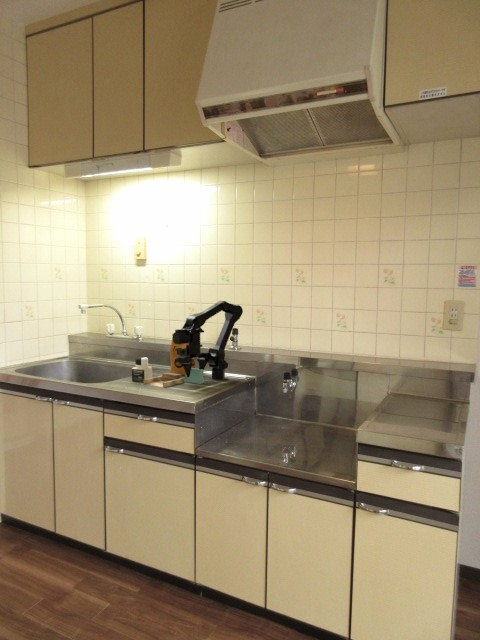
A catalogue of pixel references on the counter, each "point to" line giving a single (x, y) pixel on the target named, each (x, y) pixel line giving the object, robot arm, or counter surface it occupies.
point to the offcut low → (167, 379)
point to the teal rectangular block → (195, 376)
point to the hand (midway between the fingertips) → (194, 375)
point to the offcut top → (171, 375)
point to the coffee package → (175, 365)
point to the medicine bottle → (141, 370)
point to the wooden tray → (162, 382)
